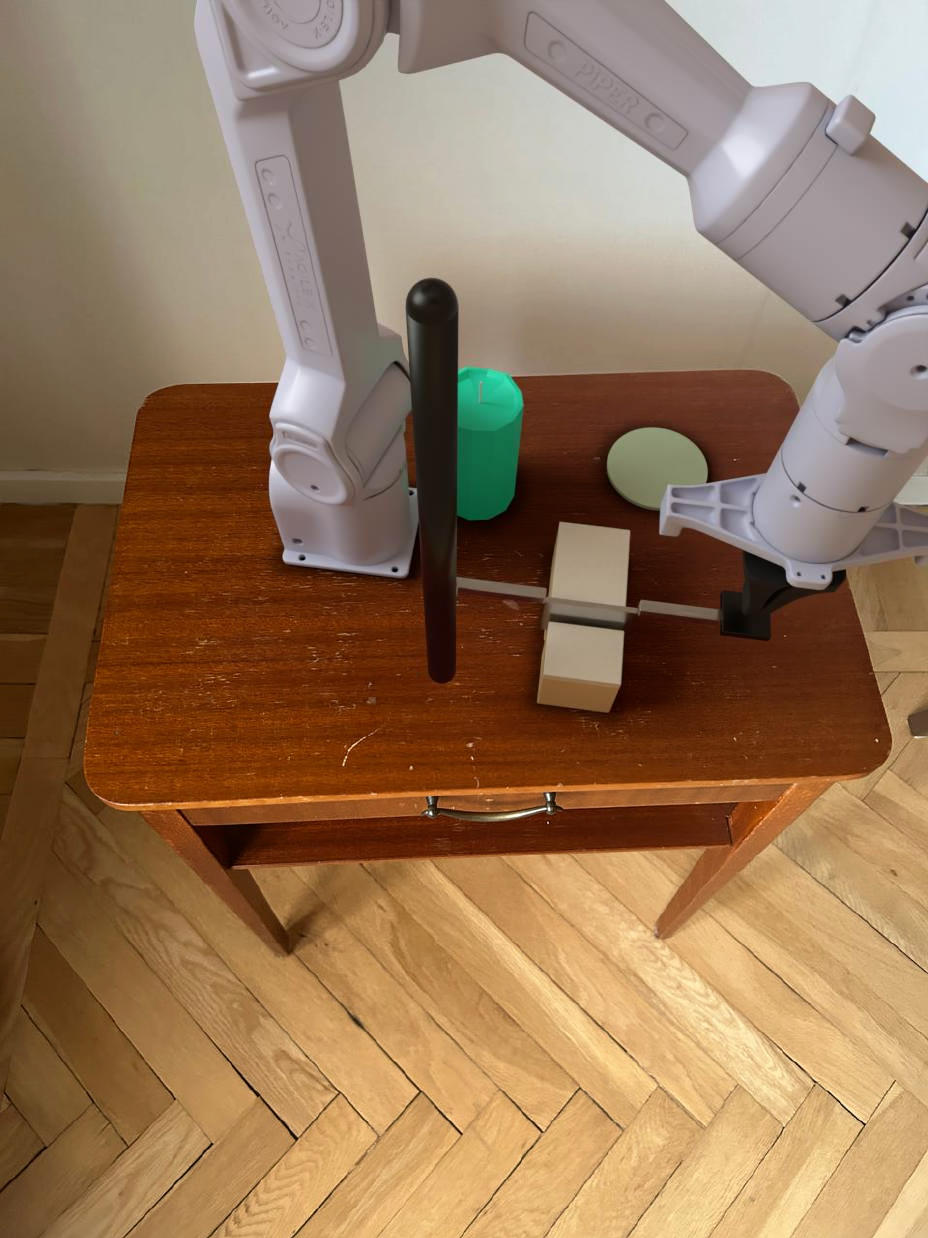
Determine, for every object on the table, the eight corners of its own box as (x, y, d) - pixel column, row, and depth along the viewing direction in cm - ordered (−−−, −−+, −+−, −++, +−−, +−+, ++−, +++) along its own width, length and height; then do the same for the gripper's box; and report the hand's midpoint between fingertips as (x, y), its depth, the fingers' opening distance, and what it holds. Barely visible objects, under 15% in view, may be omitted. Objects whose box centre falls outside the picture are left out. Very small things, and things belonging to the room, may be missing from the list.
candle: (507, 526, 67) (517, 423, 57) (431, 513, 68) (427, 408, 57) (520, 465, 70) (532, 356, 59) (447, 453, 71) (446, 342, 60)
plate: (603, 504, 68) (604, 501, 68) (609, 425, 72) (610, 421, 72) (706, 516, 68) (707, 513, 68) (707, 436, 72) (708, 433, 71)
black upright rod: (426, 692, 58) (399, 301, 29) (443, 595, 61) (434, 156, 32) (746, 735, 57) (1058, 372, 27) (745, 633, 60) (1021, 215, 31)
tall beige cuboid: (543, 640, 63) (550, 607, 58) (552, 558, 66) (559, 521, 62) (613, 649, 63) (625, 617, 58) (618, 566, 66) (630, 529, 61)
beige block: (536, 703, 61) (543, 674, 56) (542, 653, 62) (549, 620, 58) (608, 713, 60) (621, 684, 56) (612, 662, 62) (624, 630, 58)
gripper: (685, 514, 40) (631, 644, 52) (1012, 553, 39) (880, 676, 51) (688, 396, 43) (637, 544, 55) (990, 430, 42) (871, 573, 54)
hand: (754, 601), depth 53 cm, fingers closed
